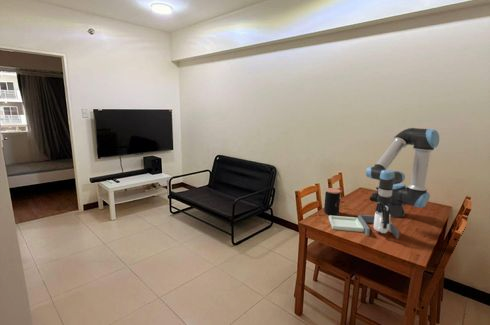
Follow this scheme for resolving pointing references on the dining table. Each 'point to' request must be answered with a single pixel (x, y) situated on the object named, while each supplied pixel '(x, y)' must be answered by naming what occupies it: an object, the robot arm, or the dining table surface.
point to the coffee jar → (332, 201)
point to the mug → (379, 221)
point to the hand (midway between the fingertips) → (380, 228)
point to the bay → (370, 219)
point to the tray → (346, 223)
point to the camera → (375, 195)
